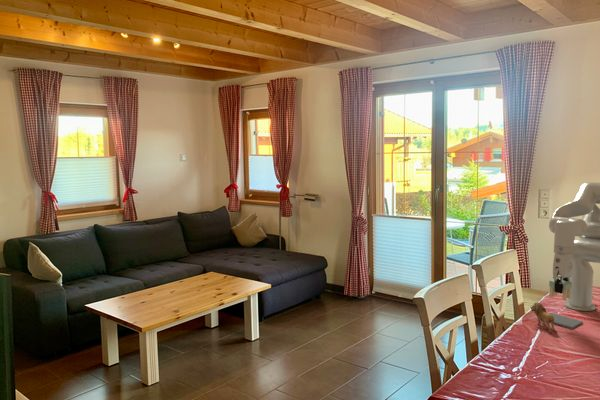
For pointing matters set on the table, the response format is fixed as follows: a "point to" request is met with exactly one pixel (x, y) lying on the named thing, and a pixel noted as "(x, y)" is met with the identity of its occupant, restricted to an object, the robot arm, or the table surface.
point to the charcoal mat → (565, 321)
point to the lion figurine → (543, 316)
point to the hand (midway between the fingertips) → (561, 290)
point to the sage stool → (566, 289)
